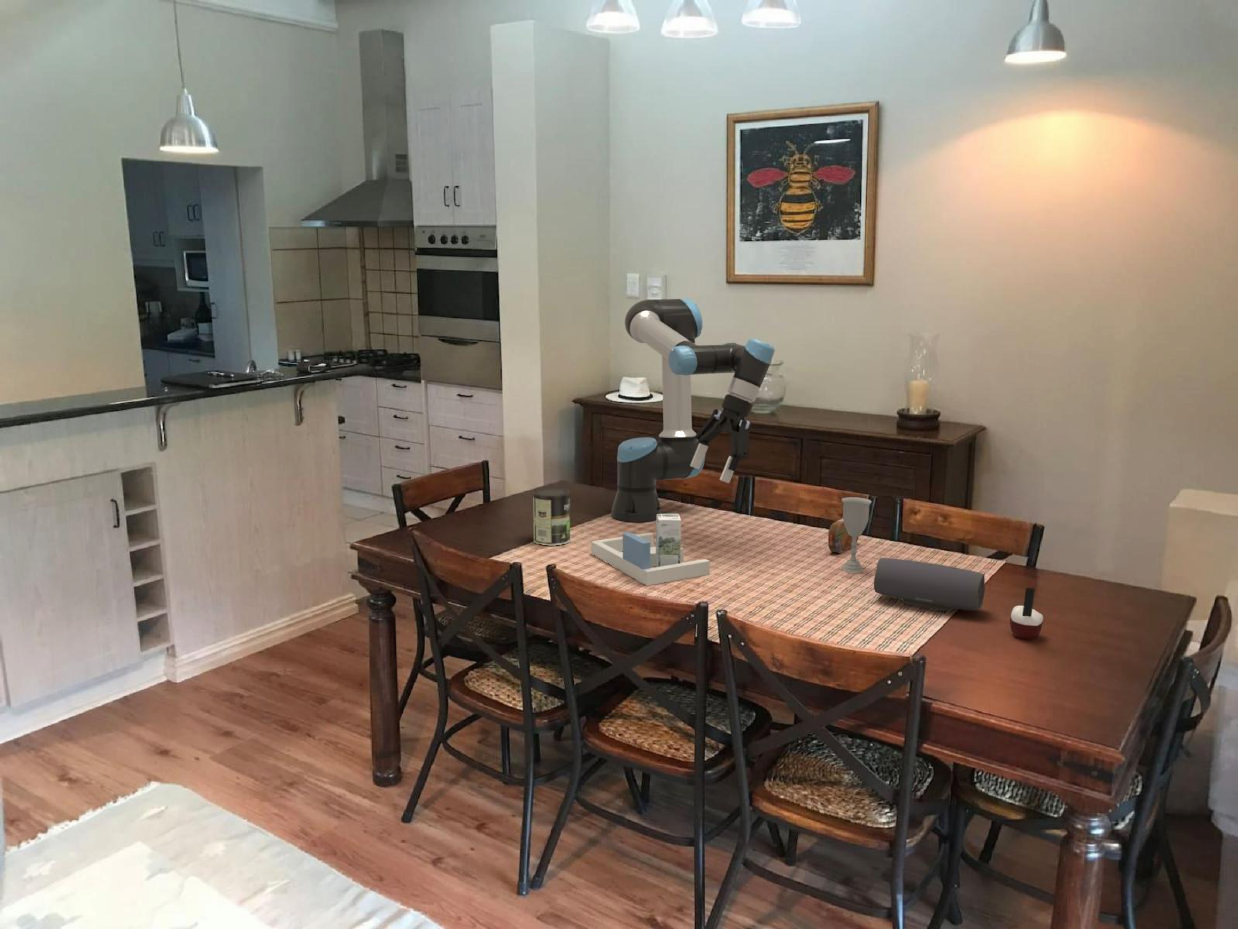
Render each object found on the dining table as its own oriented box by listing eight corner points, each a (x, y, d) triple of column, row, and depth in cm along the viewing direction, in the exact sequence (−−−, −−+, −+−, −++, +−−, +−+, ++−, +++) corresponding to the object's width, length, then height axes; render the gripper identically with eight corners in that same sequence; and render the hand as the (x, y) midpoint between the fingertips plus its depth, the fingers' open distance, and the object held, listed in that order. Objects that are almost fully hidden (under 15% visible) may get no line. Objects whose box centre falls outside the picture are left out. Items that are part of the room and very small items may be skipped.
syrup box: (677, 568, 250) (678, 512, 247) (680, 575, 245) (681, 518, 242) (655, 568, 250) (656, 512, 247) (657, 575, 244) (658, 519, 241)
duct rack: (591, 554, 262) (591, 517, 259) (649, 544, 270) (650, 509, 268) (647, 585, 237) (647, 545, 235) (709, 574, 245) (710, 535, 243)
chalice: (834, 571, 248) (838, 501, 244) (842, 564, 254) (845, 496, 250) (863, 575, 245) (867, 505, 241) (870, 568, 251) (874, 499, 247)
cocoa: (1017, 629, 212) (1021, 574, 210) (1048, 635, 207) (1052, 580, 206) (1000, 639, 205) (1004, 583, 203) (1031, 646, 201) (1035, 589, 199)
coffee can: (571, 536, 278) (571, 487, 275) (569, 546, 268) (568, 496, 265) (535, 535, 278) (534, 487, 276) (531, 546, 268) (530, 495, 265)
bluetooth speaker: (983, 609, 222) (987, 566, 220) (975, 621, 215) (979, 578, 213) (883, 591, 234) (885, 550, 232) (871, 603, 226) (874, 561, 224)
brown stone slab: (836, 557, 260) (837, 526, 259) (825, 554, 262) (826, 524, 260) (859, 544, 272) (861, 514, 270) (849, 542, 274) (850, 512, 272)
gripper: (780, 413, 246) (748, 491, 248) (722, 393, 267) (693, 465, 269) (759, 403, 242) (726, 483, 244) (702, 384, 263) (672, 458, 264)
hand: (709, 474), depth 256 cm, fingers open, 13 cm apart
